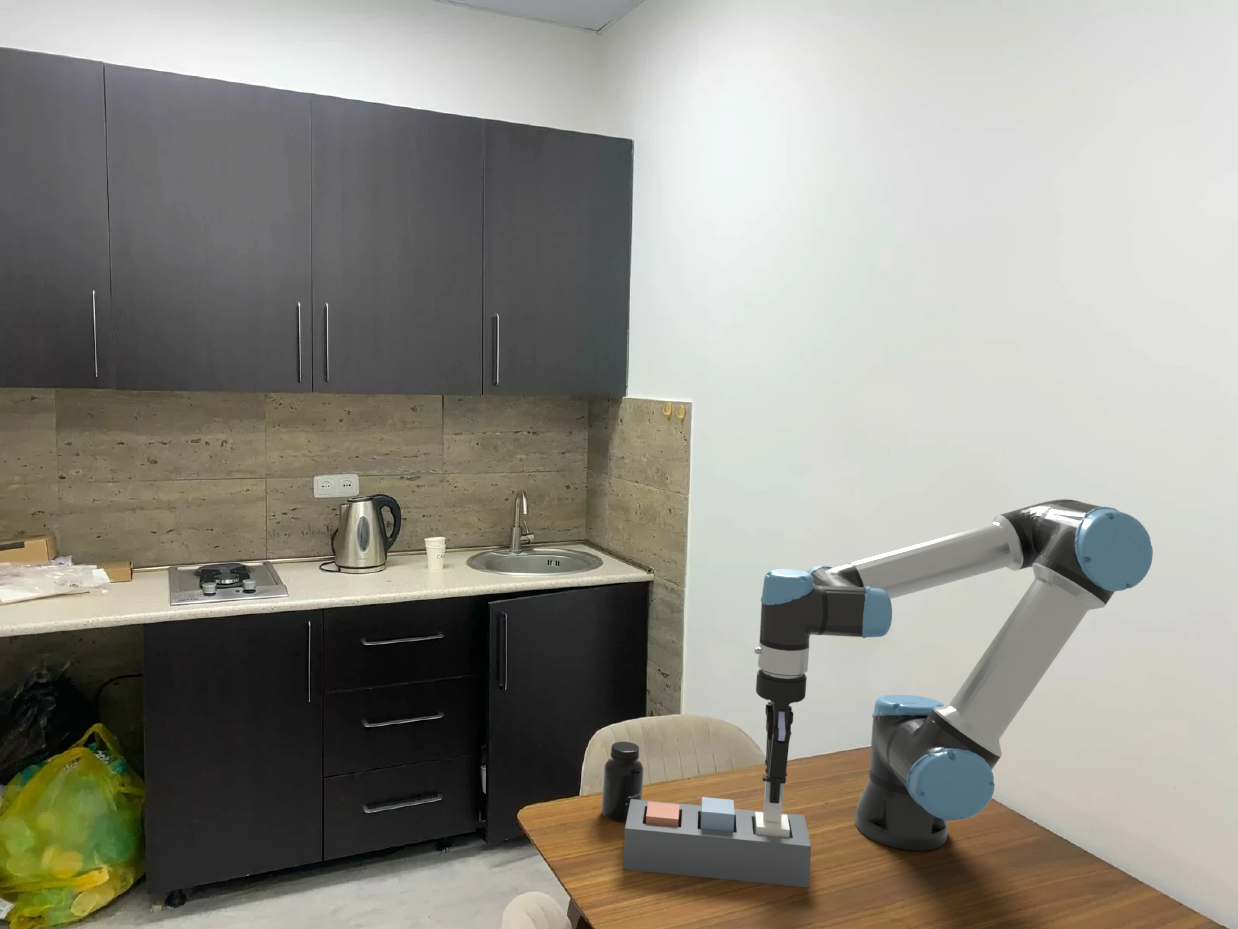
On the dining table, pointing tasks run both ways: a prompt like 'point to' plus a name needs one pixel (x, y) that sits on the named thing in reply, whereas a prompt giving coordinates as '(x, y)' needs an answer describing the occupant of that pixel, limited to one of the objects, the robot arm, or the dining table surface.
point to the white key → (771, 826)
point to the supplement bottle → (622, 780)
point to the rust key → (662, 814)
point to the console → (717, 848)
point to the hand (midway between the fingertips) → (771, 819)
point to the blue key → (717, 814)
